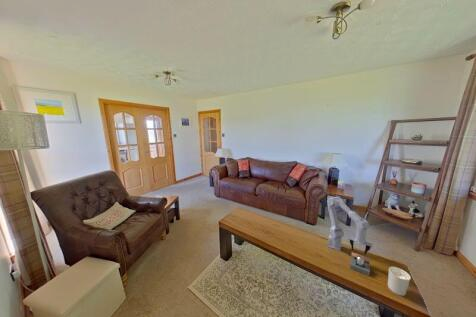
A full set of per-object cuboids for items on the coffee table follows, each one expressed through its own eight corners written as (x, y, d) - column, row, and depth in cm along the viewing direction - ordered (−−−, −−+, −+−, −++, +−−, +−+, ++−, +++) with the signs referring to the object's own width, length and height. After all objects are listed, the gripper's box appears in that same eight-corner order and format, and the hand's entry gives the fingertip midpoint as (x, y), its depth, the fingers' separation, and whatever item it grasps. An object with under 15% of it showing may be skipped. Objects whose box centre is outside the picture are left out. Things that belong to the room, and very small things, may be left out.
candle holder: (383, 280, 109) (385, 264, 108) (402, 285, 106) (405, 269, 104) (390, 293, 100) (393, 276, 99) (411, 299, 97) (414, 282, 95)
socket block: (350, 268, 119) (350, 261, 118) (350, 258, 129) (351, 251, 128) (369, 276, 113) (370, 269, 112) (368, 264, 122) (369, 258, 121)
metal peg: (356, 267, 119) (357, 258, 118) (356, 264, 122) (357, 254, 121) (362, 270, 117) (364, 260, 115) (362, 266, 120) (364, 257, 119)
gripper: (348, 234, 122) (346, 250, 124) (373, 242, 113) (371, 259, 116) (349, 229, 128) (347, 245, 130) (373, 237, 119) (370, 253, 121)
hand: (358, 251), depth 123 cm, fingers open, 7 cm apart
